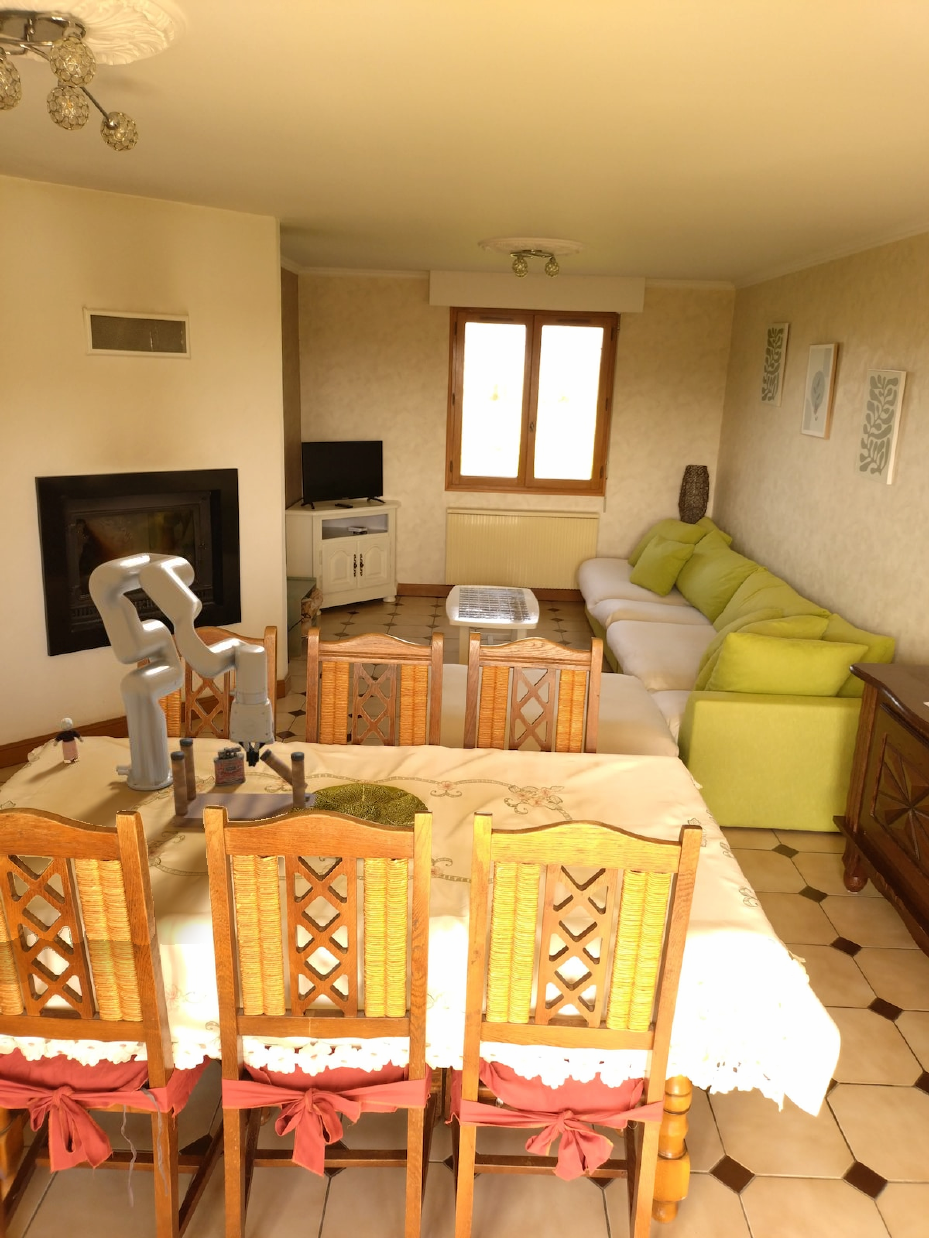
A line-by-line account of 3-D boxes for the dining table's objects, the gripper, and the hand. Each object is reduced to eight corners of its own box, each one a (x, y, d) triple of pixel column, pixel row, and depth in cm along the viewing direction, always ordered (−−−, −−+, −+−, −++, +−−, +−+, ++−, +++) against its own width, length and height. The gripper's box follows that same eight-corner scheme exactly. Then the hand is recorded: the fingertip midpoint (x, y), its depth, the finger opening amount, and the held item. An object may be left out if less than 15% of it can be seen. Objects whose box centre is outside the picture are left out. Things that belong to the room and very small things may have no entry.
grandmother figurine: (81, 755, 265) (76, 713, 262) (86, 759, 263) (82, 717, 259) (53, 762, 260) (48, 719, 257) (58, 767, 258) (53, 724, 254)
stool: (173, 826, 227) (167, 758, 222) (187, 801, 239) (182, 736, 234) (310, 827, 228) (307, 758, 223) (316, 802, 240) (315, 736, 235)
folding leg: (258, 760, 232) (267, 752, 232) (260, 755, 235) (269, 746, 235) (298, 795, 235) (307, 787, 235) (300, 790, 238) (309, 781, 238)
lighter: (216, 788, 247) (214, 753, 244) (213, 783, 250) (211, 748, 247) (247, 782, 251) (245, 747, 248) (243, 777, 253) (241, 743, 251)
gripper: (217, 700, 225) (219, 769, 231) (279, 702, 225) (280, 772, 231) (224, 688, 232) (226, 756, 238) (285, 691, 233) (285, 759, 238)
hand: (252, 764), depth 234 cm, fingers closed
